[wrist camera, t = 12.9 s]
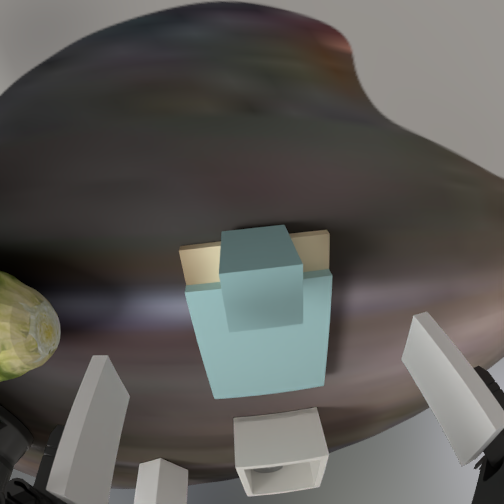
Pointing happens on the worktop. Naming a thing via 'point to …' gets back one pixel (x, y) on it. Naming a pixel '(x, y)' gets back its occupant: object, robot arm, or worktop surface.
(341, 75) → the worktop surface
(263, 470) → the part
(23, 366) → the lettuce
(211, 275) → the board
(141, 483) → the milk
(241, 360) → the lid
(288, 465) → the tub
